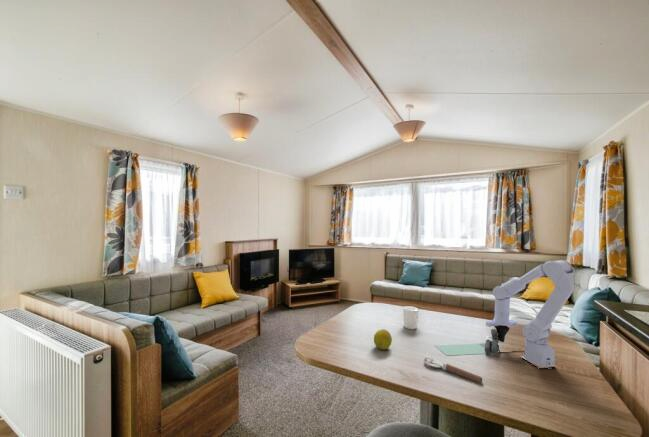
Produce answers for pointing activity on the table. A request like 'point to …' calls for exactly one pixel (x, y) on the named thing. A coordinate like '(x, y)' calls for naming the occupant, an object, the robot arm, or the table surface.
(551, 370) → the table surface
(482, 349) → the mat
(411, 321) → the white cup
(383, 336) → the lemon
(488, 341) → the can opener
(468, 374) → the brown handled opener
